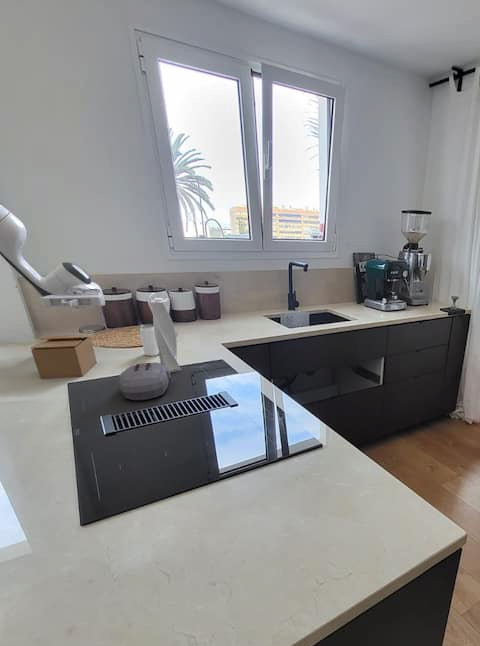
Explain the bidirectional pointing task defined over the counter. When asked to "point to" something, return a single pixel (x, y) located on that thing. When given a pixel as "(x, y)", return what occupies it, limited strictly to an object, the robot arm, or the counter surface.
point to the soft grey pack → (144, 381)
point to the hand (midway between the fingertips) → (65, 304)
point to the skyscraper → (164, 333)
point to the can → (149, 340)
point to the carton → (64, 357)
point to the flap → (65, 337)
